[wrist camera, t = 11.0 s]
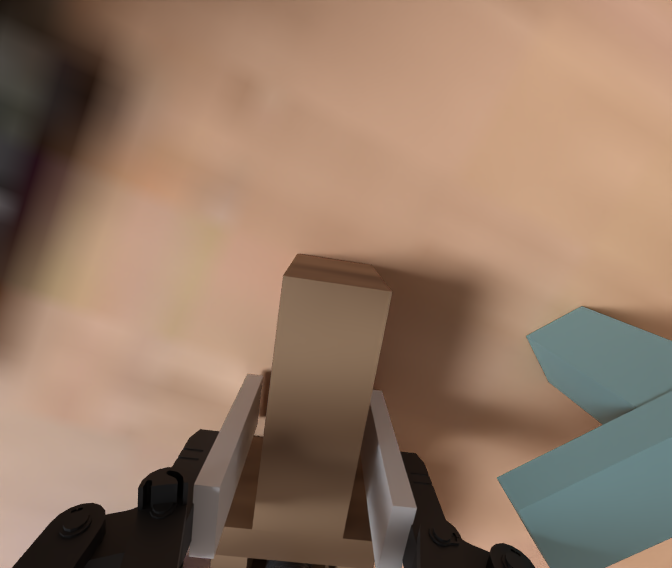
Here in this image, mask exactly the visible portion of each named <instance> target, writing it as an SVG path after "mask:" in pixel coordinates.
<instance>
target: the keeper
mask: <svg viewBox="0 0 672 568" xmlns="http://www.w3.org/2000/svg"><path fill="white" fill-rule="evenodd" d="M526 337H527V339H528V341H529V343H530V345H531V347H532V349H533V351H534V353H535V355H536V357H537V359H538V361H539V363H540V365H541V367H542V369H543V371H544V373H545V375H546V377H547V380H548V382H549V383H551V384H552V385H553V386H554V387H556V388H557V389H558V390H559V391H561V392H562V393H563V394H565V395H566V396H567V397H568V398H570V399H571V400H572V401H573V402H575V403H576V404H577V405H579V406H580V407H581V408H582V409H584V410H585V411H586V412H587V413H589V414H590V415H591V416H592V417H594V418H595V419H596V420H598V421H599V422H600V423H601V424H603V425H602V426H600V427H598V428H596V429H594V430H592V431H590V432H588V433H586V434H584V435H582V436H580V437H578V438H576V439H574V440H572V441H570V442H568V443H566V444H564V445H562V446H560V447H558V448H556V449H554V450H552V451H550V452H548V453H546V454H544V455H541V456H539V457H537V458H535V459H533V460H531V461H529V462H527V463H525V464H523V465H521V466H519V467H517V468H515V469H513V470H511V471H509V472H507V473H505V474H503V475H501V476H499V477H497V479H498V481H499V483H500V484H501V486H502V488H503V489H504V491H505V493H506V495H507V496H508V498H509V500H510V501H511V503H512V505H513V507H514V508H515V510H516V512H517V513H518V515H519V517H520V519H521V520H522V522H523V524H524V525H525V527H526V529H527V531H528V532H529V534H530V536H531V537H532V539H533V541H534V543H535V544H536V546H537V548H538V549H539V551H540V553H541V554H542V556H543V557H544V559H545V561H546V562H547V564H548V566H549V567H550V568H605V567H608V566H610V565H612V564H614V563H617V562H619V561H621V560H623V559H625V558H628V557H630V556H632V555H634V554H637V553H639V552H641V551H643V550H645V549H648V548H650V547H652V546H654V545H656V544H659V543H661V542H663V541H665V540H668V539H670V538H672V341H670V340H668V339H665V338H663V337H660V336H658V335H655V334H652V333H650V332H647V331H645V330H642V329H639V328H637V327H634V326H632V325H629V324H627V323H624V322H621V321H619V320H616V319H614V318H611V317H608V316H606V315H603V314H601V313H598V312H596V311H593V310H590V309H588V308H585V307H583V306H581V307H579V308H577V309H576V310H574V311H572V312H570V313H568V314H566V315H564V316H563V317H561V318H559V319H557V320H555V321H553V322H551V323H550V324H548V325H546V326H544V327H542V328H540V329H538V330H537V331H535V332H533V333H531V334H529V335H527V336H526Z"/></svg>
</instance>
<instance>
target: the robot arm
mask: <svg viewBox="0 0 672 568" xmlns="http://www.w3.org/2000/svg"><path fill="white" fill-rule="evenodd" d="M262 380H263V376H262V375H254V374H247V376H246V378H245V380H244V382H243V384H242V386H241V388H240V390H239V393H238V395H237V397H236V399H235V401H234V403H233V405H232V407H231V409H230V411H229V413H228V415H227V417H226V419H225V421H224V423H223V426H222V428H221V430H220V432H219V431H211V430H202V429H200V430H199V431H198V432H196V433H195V434H194V435H192V436H191V437H190V438H189V440H188V441H187V443H186V445H185V446H184V448H183V450H182V451H181V453H180V455H179V456H178V459H177V460H176V461H175V463H174V465H173V466H172V467H167V468H163V469H159V470H157V471H155V472H152V473H150V474H149V475H148V476H147V477H146V478H144V479H143V480H142V482H141V484H140V485H139V487H138V507H136V508H134V509H131V510H127V511H123V512H118V513H112V514H107V515H105V510H104V508H103V507H102V506H101V505H98V504H95V503H86V504H80V505H77V506H74V507H71V508H69V509H68V510H66V511H64V512H63V513H61V514H59V515H58V516H57V517H56V518H55V519H54V520H53V521H52V522H51V523H50V524H49V525H48V526H47V527H46V528H45V530H44V531H43V532H42V533H41V534H40V536H39V537H38V538H37V539H36V540H35V541H34V543H33V544H32V545H31V546H30V547H29V548H28V550H27V551H26V552H25V553H24V554H23V555H22V557H21V558H20V559H19V560H18V561H17V563H16V564H15V565H14V566H13V567H12V568H183V560H184V558H185V555H186V553H187V550H188V548H189V546H190V549H189V557H198V558H209V559H214V556H215V553H216V550H217V546H218V543H219V540H220V537H221V534H222V531H223V528H224V525H225V522H226V519H227V516H228V513H229V510H230V507H231V503H232V500H233V497H234V494H235V491H236V488H237V485H238V482H239V479H240V476H241V473H242V470H243V467H244V464H245V460H246V457H247V454H248V451H249V448H250V445H251V442H252V439H253V436H254V433H255V430H256V427H257V424H258V415H259V406H260V398H261V389H262ZM360 454H361V462H362V469H363V477H364V484H365V491H366V499H367V506H368V514H369V521H370V529H371V536H372V544H373V551H374V559H375V566H376V568H402V564H403V566H404V568H535V567H534V565H533V564H532V562H531V561H530V560H529V559H528V558H527V557H526V556H525V555H524V554H523V553H522V552H521V551H519V550H518V549H516V548H514V547H513V546H510V545H507V544H504V543H500V544H495V545H494V546H493V547H492V548H491V550H490V552H488V551H485V550H483V549H481V548H478V547H476V546H473V545H471V544H469V543H467V542H465V541H464V540H462V539H461V536H460V534H459V533H458V531H457V530H456V528H455V527H454V526H453V525H451V524H450V523H449V522H448V521H446V519H445V517H444V514H443V511H442V509H441V506H440V503H439V501H438V498H437V496H436V493H435V490H434V488H433V486H432V482H431V480H430V477H429V476H428V475H429V474H428V472H427V469H426V467H425V464H424V463H423V461H422V460H421V459H420V458H419V457H418V455H417V454H416V453H407V452H400V450H399V446H398V443H397V440H396V436H395V433H394V430H393V426H392V423H391V419H390V416H389V413H388V409H387V406H386V403H385V399H384V396H383V393H382V391H380V390H372V395H371V400H370V405H369V410H368V415H367V420H366V425H365V430H364V435H363V440H362V445H361V450H360Z"/></svg>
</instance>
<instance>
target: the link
mask: <svg viewBox="0 0 672 568" xmlns="http://www.w3.org/2000/svg"><path fill="white" fill-rule="evenodd" d="M391 296H392V291H391V289H390V288H389V287H388V285H387V284H386V283H385V282H384V280H383V279H382V278H381V276H380V275H379V274H378V272H377V271H376V270H375V269H374V267H373V266H372V265H369V264H362V263H356V262H349V261H342V260H336V259H329V258H323V257H316V256H309V255H303V254H297V255H296V257H295V258H294V260H293V261H292V263H291V264H290V266H289V268H288V269H287V271H286V272H285V274H284V275H283V281H282V289H281V297H280V305H279V313H278V322H277V330H276V338H275V346H274V354H273V363H272V371H271V379H270V387H269V395H268V404H267V412H266V420H265V428H264V436H263V437H256V436H253V439H252V442H251V445H250V448H249V451H248V454H247V457H246V460H245V464H244V467H243V470H242V473H241V476H240V479H239V482H238V485H237V488H236V491H235V494H234V497H233V500H232V503H231V507H230V510H229V513H228V516H227V519H226V522H225V525H224V528H223V531H222V534H221V537H220V540H219V543H218V546H217V550H216V553H215V556H214V559H211V562H210V568H266V562H267V560H277V561H287V562H298V563H309V564H313V568H373V566H374V562H375V559H374V551H373V544H372V536H371V529H370V521H369V514H368V506H367V499H366V491H365V484H364V477H363V469H362V462H361V454H360V450H361V445H362V440H363V435H364V430H365V425H366V420H367V415H368V410H369V405H370V400H371V395H372V390H373V385H374V381H375V376H376V371H377V366H378V361H379V356H380V351H381V346H382V341H383V336H384V331H385V326H386V321H387V316H388V311H389V306H390V301H391Z"/></svg>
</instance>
